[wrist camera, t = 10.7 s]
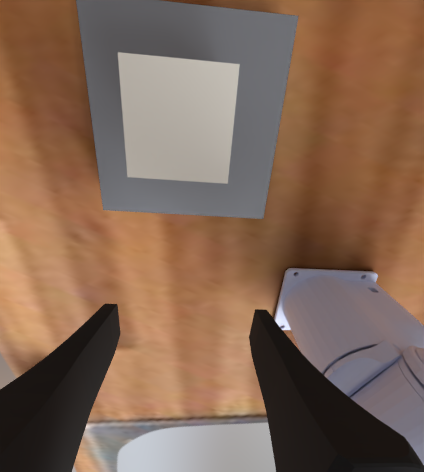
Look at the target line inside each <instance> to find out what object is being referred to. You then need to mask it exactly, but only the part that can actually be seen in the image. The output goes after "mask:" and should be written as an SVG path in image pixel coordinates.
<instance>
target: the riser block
mask: <svg viewBox="0 0 424 472" xmlns="http://www.w3.org/2000/svg"><path fill="white" fill-rule="evenodd" d="M76 3H77V11H78V18H79V26H80V34H81V42H82V49H83V57H84V65H85V72H86V80H87V88H88V96H89V103H90V111H91V119H92V127H93V134H94V142H95V150H96V157H97V165H98V173H99V181H100V188H101V196H102V204H103V210H112V211H130V212H148V213H167V214H185V215H203V216H221V217H239V218H257V219H263V217H264V212H265V206H266V200H267V194H268V189H269V183H270V177H271V171H272V166H273V160H274V154H275V148H276V143H277V137H278V131H279V125H280V120H281V114H282V108H283V102H284V97H285V91H286V85H287V79H288V73H289V68H290V62H291V56H292V50H293V45H294V39H295V33H296V27H297V22H298V16H295V15H286V14H277V13H268V12H259V11H250V10H241V9H232V8H223V7H214V6H205V5H196V4H187V3H178V2H169V1H160V0H76ZM118 52H121V53H131V54H141V55H151V56H162V57H172V58H182V59H192V60H202V61H213V62H223V63H233V64H240V67H239V77H238V87H237V97H236V107H235V117H234V127H233V137H232V146H231V156H230V166H229V176H228V184H224V183H209V182H193V181H178V180H163V179H147V178H132V177H127V165H126V153H125V140H124V127H123V114H122V102H121V89H120V76H119V63H118Z"/></svg>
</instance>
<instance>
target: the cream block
mask: <svg viewBox="0 0 424 472" xmlns="http://www.w3.org/2000/svg"><path fill="white" fill-rule="evenodd" d="M118 63H119V76H120V89H121V102H122V114H123V127H124V140H125V153H126V165H127V177H132V178H147V179H163V180H178V181H193V182H209V183H224V184H228V176H229V166H230V156H231V146H232V137H233V127H234V117H235V107H236V97H237V87H238V77H239V67H240V64H233V63H223V62H213V61H202V60H192V59H182V58H172V57H162V56H151V55H141V54H131V53H121V52H118Z"/></svg>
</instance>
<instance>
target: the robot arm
mask: <svg viewBox="0 0 424 472" xmlns="http://www.w3.org/2000/svg"><path fill="white" fill-rule="evenodd" d="M295 272H297V274H294V273H295ZM377 277H378V275H377V274H376V273H375V272H373V271H349V270H325V269H301V268H289V269H287V270H286V272H285V276H284V280H283V284H282V288H281V292H280V297H279V301H278V305H277V309H276V313H275V317H274V319H273V318H272V316H271V315H270V314H269V312H268V311H267V310H256V309H255V313H254V318H253V322H252V327H251V331H250V336H249V339H250V346H251V353H252V358H253V362H254V366H255V370H256V374H257V377H258V381H259V385H260V388H261V392H262V396H263V400H264V404H265V408H266V412H267V418H268V424H269V429H270V435H271V441H272V447H273V453H274V459H275V466H276V472H424V326H423V325H422V324H421V323H420V322H419V321H418V320H417V319H416V318H415V317H414V316H413V315H411V314H410V313H409V312H408V311H407V310H406V309H405V308H404V307H402V306H401V305H400V304H399V303H398V302H397V301H396V300H395V299H393V298H392V297H391V296H390V295H389V294H388V293H387V292H385V291H384V290H383V289H382V288H381V287H380V286H379V285H378V284H376V283H375V282H376V280H377ZM281 325H283V326H281ZM283 330H291V331H292V333H293V336H294V338H295V340H296V342H297V345H298V347H299V349H300V351H301V352H300V351H299V350H298V348H297V347H296V346H295V345H294V344H293V343H292V341H291V340H290V339H289V338H288V337H287V335H286V334H285V333H284V332H283ZM119 337H120V325H119V315H118V306H117V304H104V305H103V306H102V307H101V308H100V309H99V310H98V311H97V312H96V313H95V314H94V315H93V316H92V317H91V318H90V319H89V320H88V321H87V322H85V323H84V324H83V325H82V326H81V327H80V328H79V329H78V330H77V331H76V332H75V333H74V334H73V335H71V336H70V337H69V338H68V339H67V340H66V341H65V342H63V343H62V344H61V345H60V346H59V347H58V348H56V349H55V350H54V351H53V352H52V353H50V354H49V355H48V356H47V357H45V358H44V359H43V360H42V361H40V362H39V363H38V364H36V365H35V366H34V367H32V368H31V369H30V370H28V371H27V372H26V373H24V374H23V375H21V376H20V377H18V378H17V379H15V380H14V381H12V382H11V383H9V384H8V385H6V386H5V387H3V388H2V389H0V472H72V469H73V465H74V462H75V459H76V456H77V452H78V449H79V446H80V443H81V439H82V436H83V433H84V430H85V427H86V424H87V421H88V418H89V415H90V412H91V409H92V407H93V404H94V401H95V399H96V397H97V394H98V392H99V389H100V387H101V385H102V382H103V380H104V378H105V375H106V373H107V371H108V368H109V366H110V363H111V361H112V358H113V356H114V354H115V350H116V347H117V344H118V340H119Z"/></svg>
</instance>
